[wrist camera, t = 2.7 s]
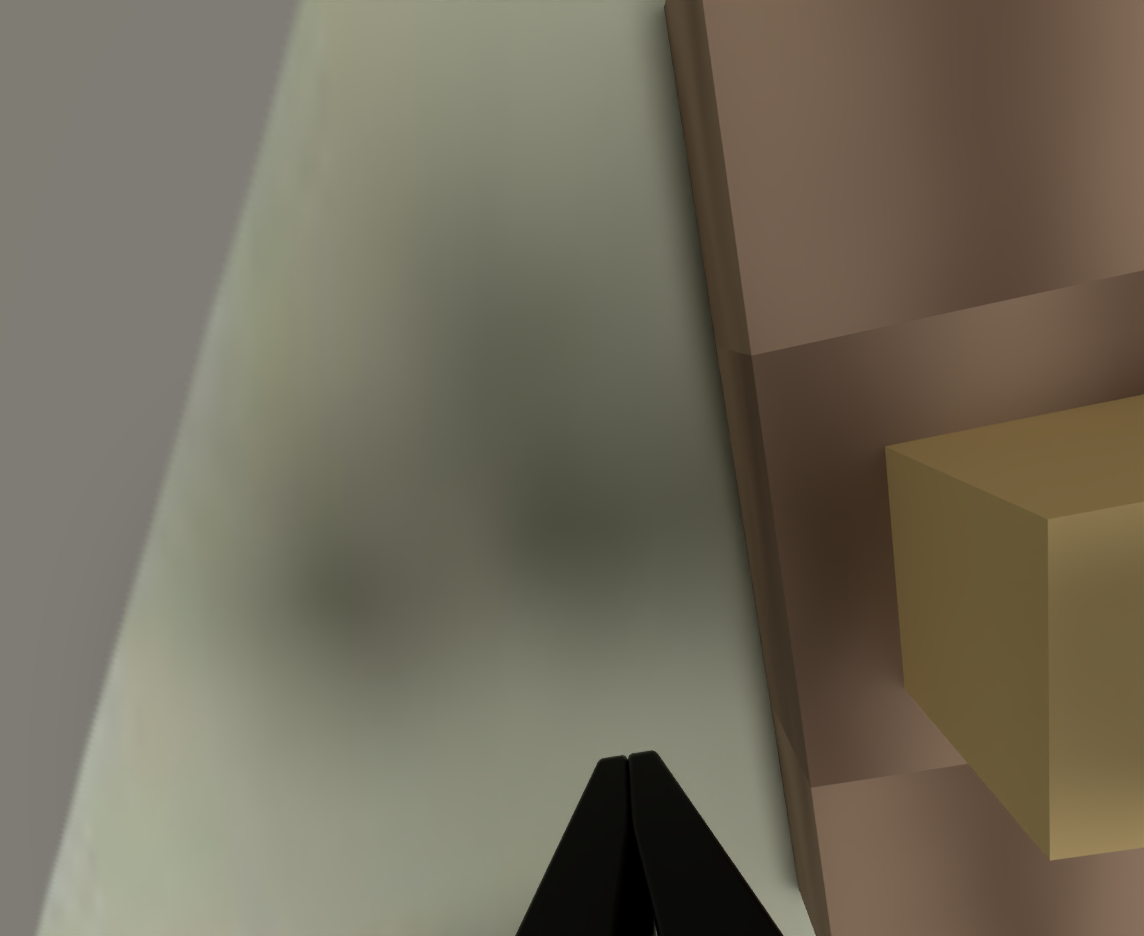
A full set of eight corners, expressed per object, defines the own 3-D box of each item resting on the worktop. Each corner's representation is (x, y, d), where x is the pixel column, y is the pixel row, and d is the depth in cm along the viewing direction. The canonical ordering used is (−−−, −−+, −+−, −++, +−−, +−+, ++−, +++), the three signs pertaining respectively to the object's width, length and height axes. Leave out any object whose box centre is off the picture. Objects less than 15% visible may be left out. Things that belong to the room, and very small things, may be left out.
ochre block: (904, 688, 12) (1049, 860, 8) (885, 446, 11) (1047, 519, 7) (1175, 644, 12) (1459, 804, 8) (1189, 384, 10) (1544, 427, 7)
